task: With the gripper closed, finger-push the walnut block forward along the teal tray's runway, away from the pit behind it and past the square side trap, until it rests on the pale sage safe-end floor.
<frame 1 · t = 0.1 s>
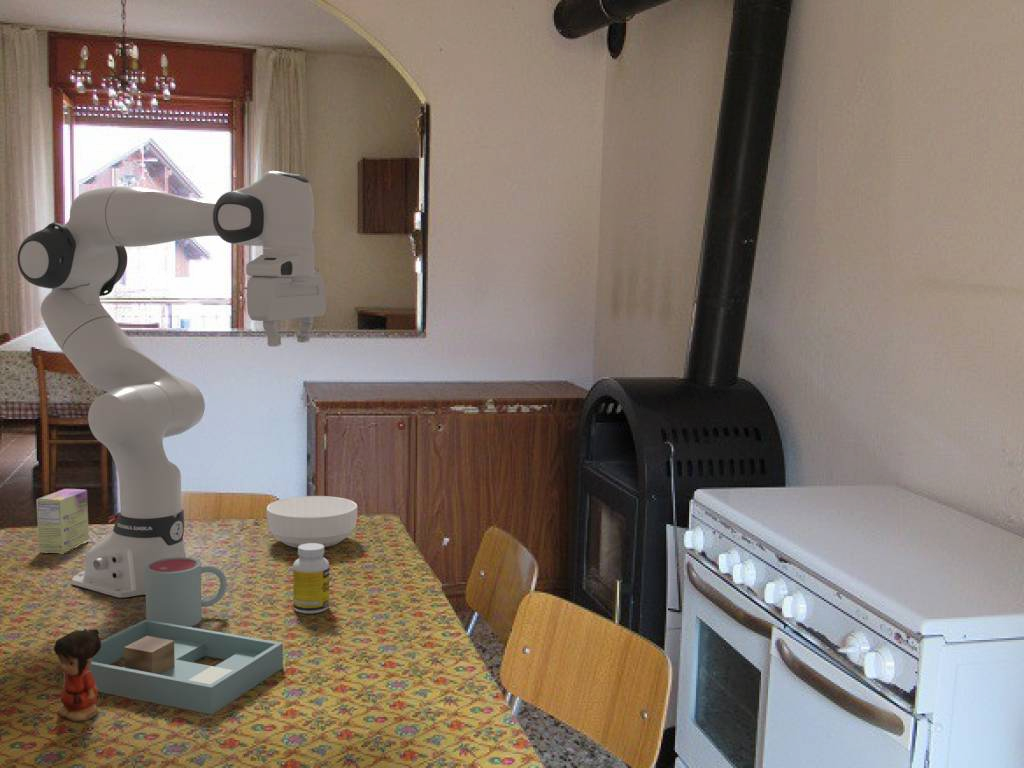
hand: (289, 344, 183), 48 cm above the table, fingers open, 8 cm apart
mug: (187, 619, 182), on the table
box: (64, 548, 222), on the table
block: (149, 669, 155), point 2 cm above the table, touching tray
figurine: (78, 714, 144), on the table
pill bottle: (311, 609, 188), on the table
bowl: (312, 544, 230), on the table
tray: (176, 675, 157), on the table
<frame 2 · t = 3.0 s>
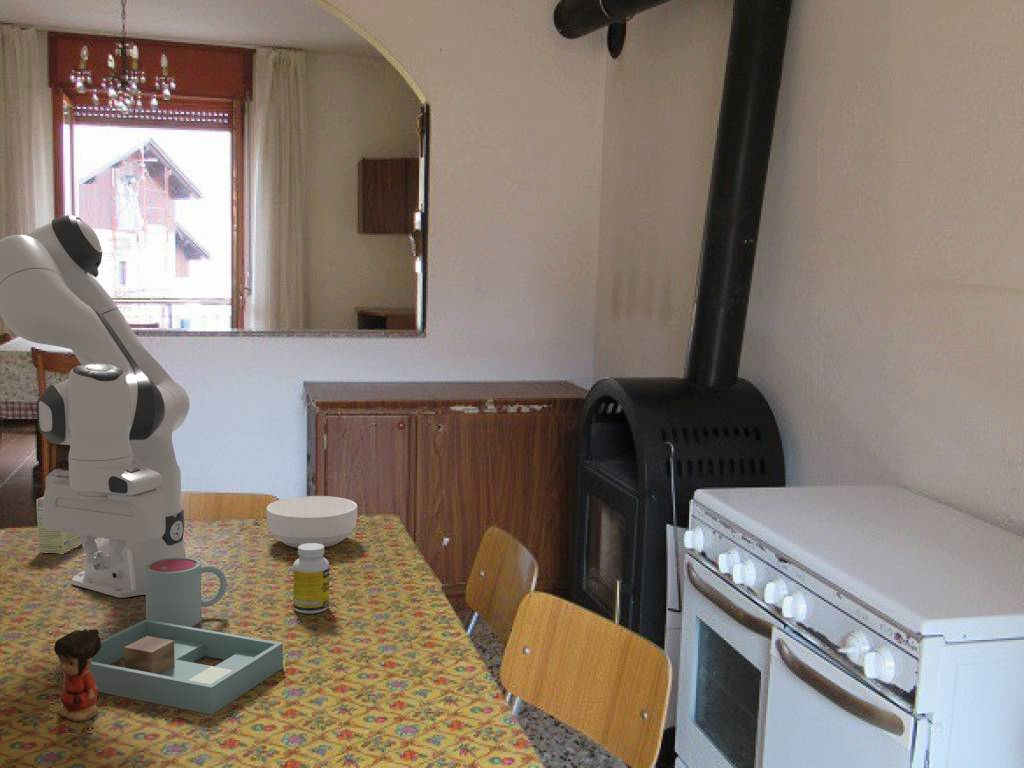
hand: (103, 564, 155), 17 cm above the table, fingers closed
nothing on the table moved.
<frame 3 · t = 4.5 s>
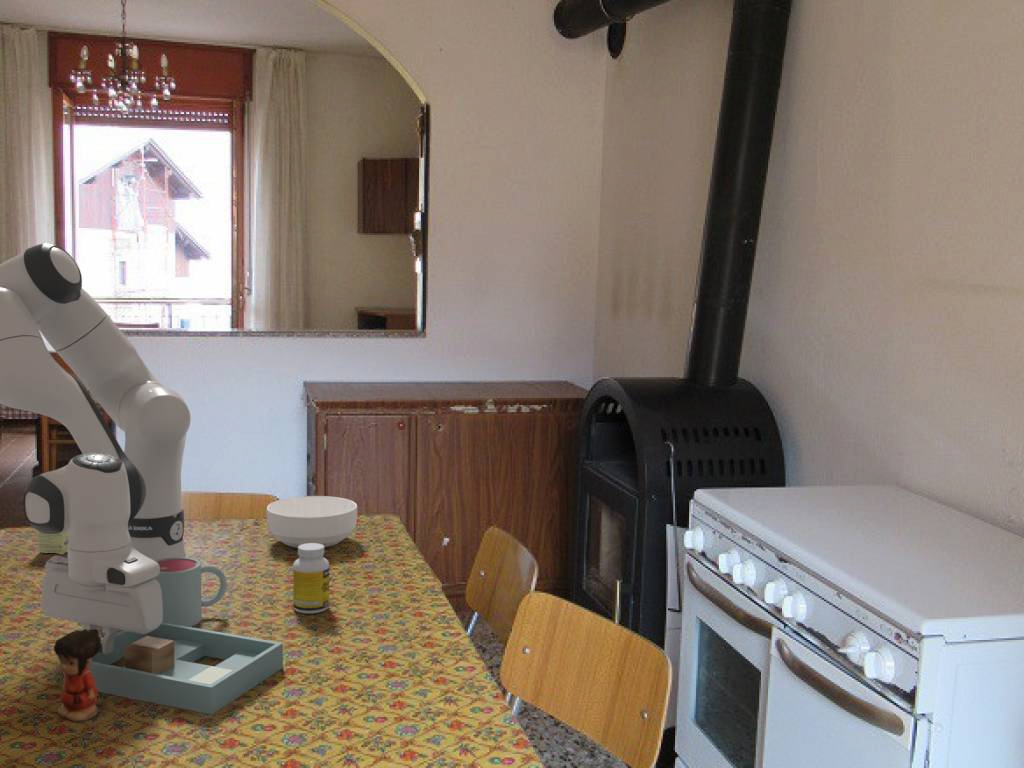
hand: (101, 651, 157), 4 cm above the table, fingers closed
nothing on the table moved.
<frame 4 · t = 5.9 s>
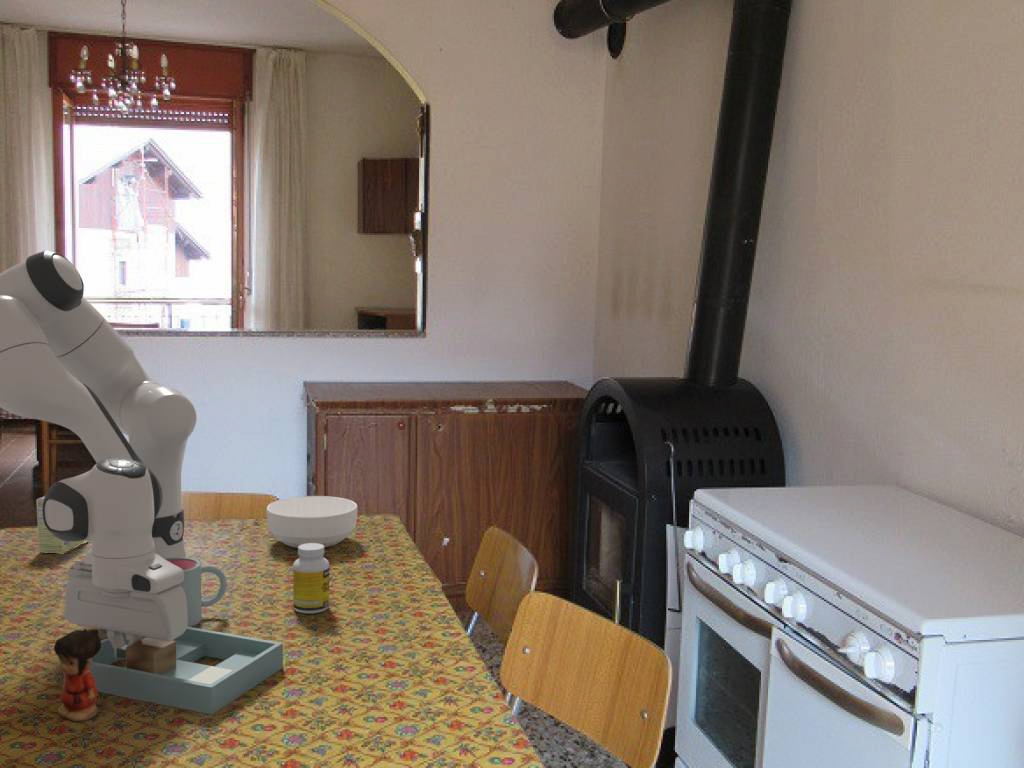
hand: (125, 658, 156), 3 cm above the table, fingers closed
block: (151, 670, 154), point 2 cm above the table, touching gripper, tray
everything else where it was.
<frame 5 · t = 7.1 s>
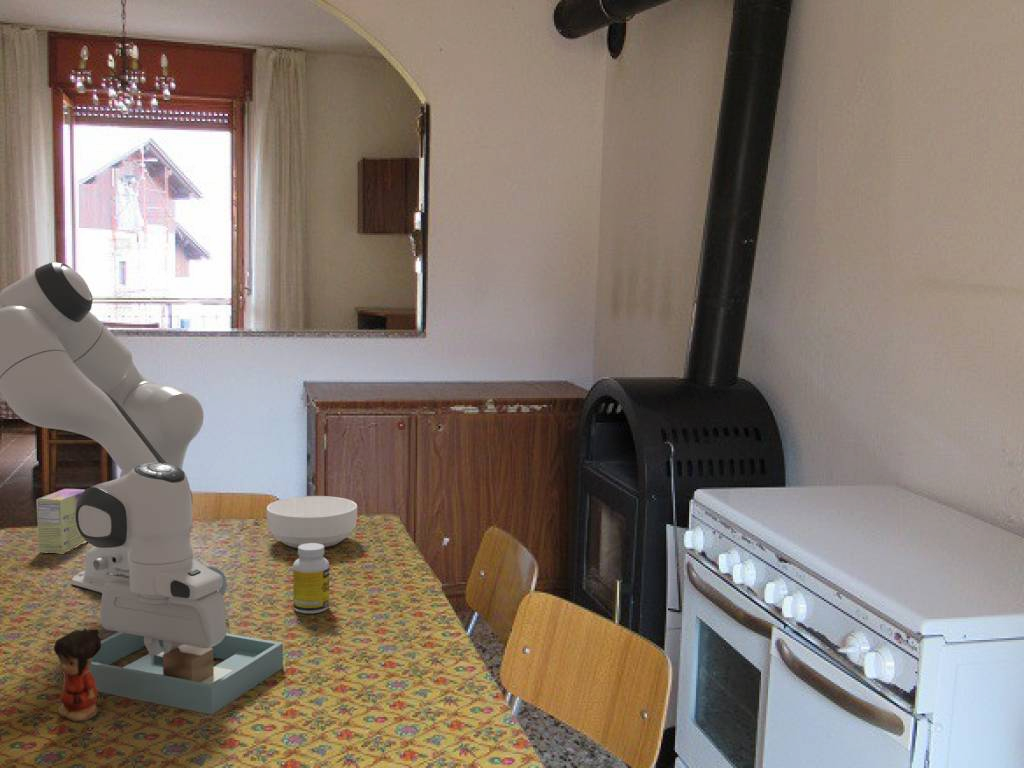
hand: (162, 665, 153), 3 cm above the table, fingers closed
block: (188, 678, 152), point 2 cm above the table, touching gripper, tray
everything else where it was.
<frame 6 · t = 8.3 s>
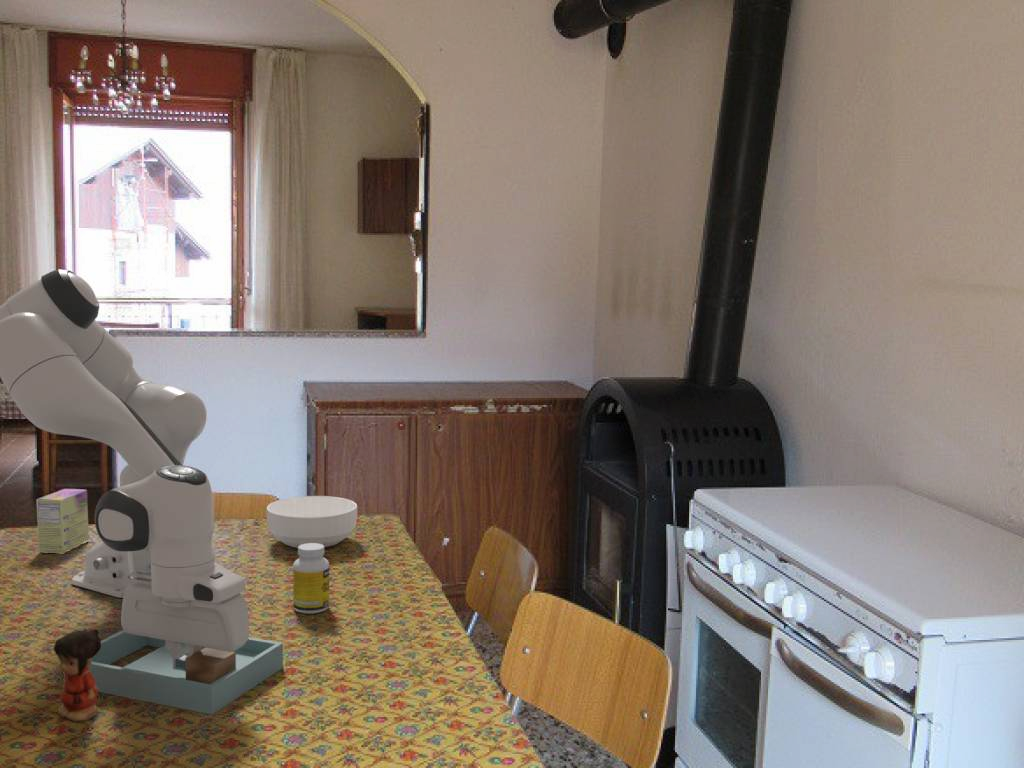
hand: (184, 669, 152), 3 cm above the table, fingers closed
block: (211, 681, 151), point 2 cm above the table, touching gripper, tray
everything else where it was.
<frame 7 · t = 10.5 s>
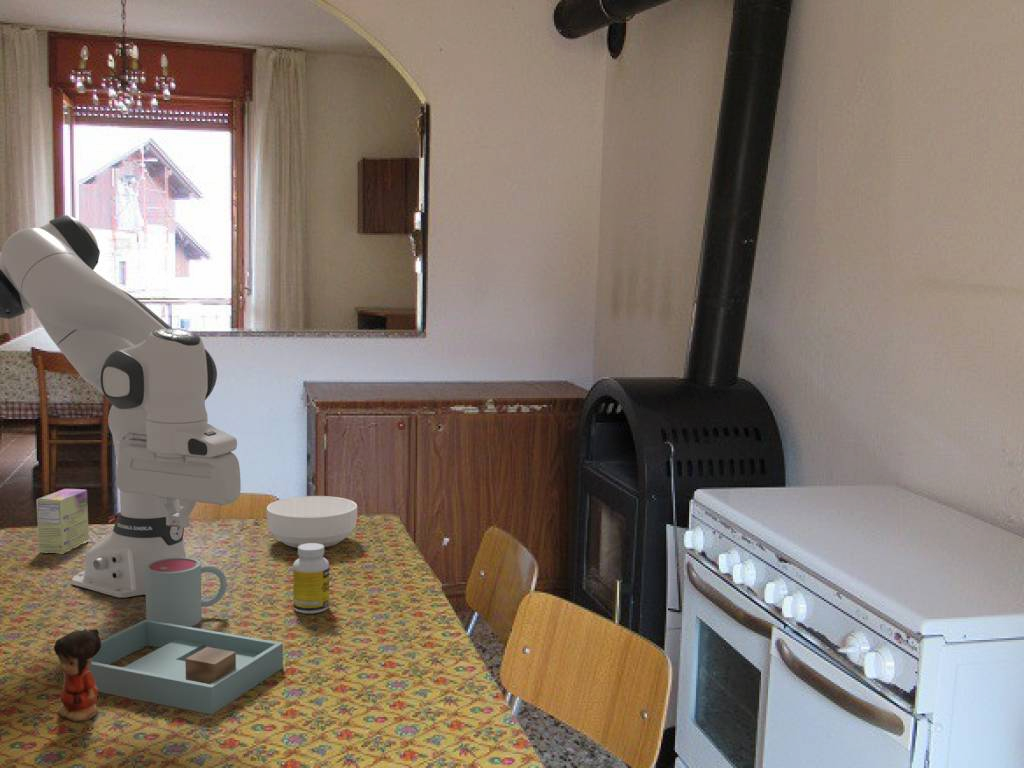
hand: (177, 526, 159), 22 cm above the table, fingers closed
block: (211, 681, 151), point 2 cm above the table, touching tray
everything else where it was.
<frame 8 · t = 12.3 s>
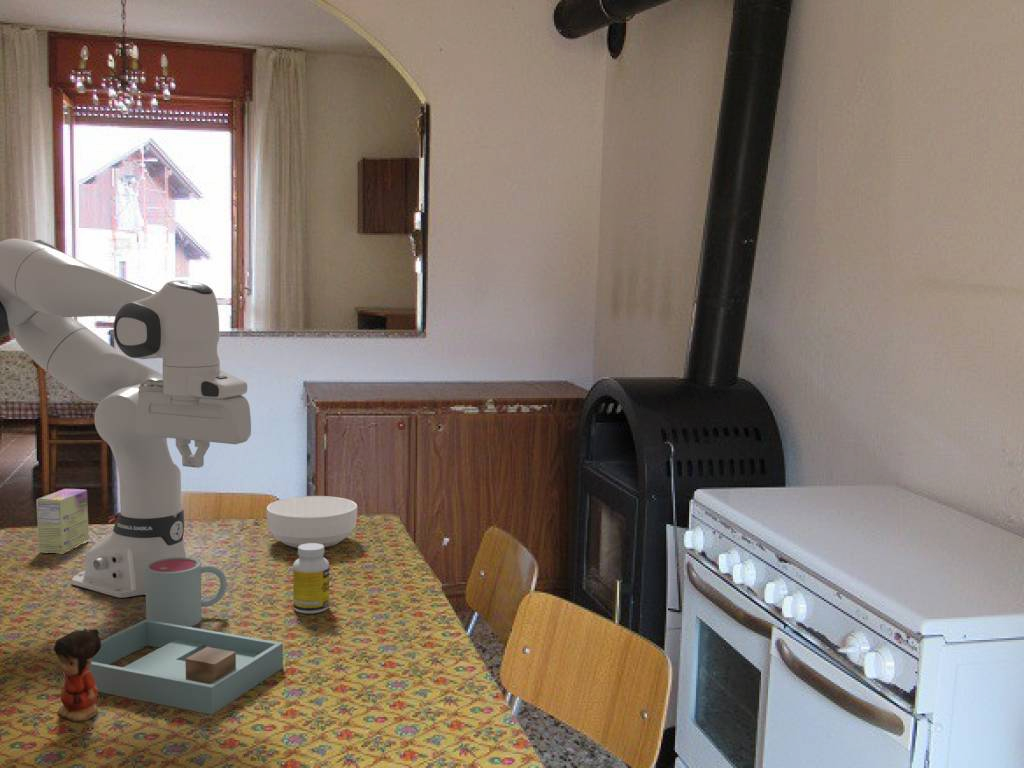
hand: (193, 466, 169), 29 cm above the table, fingers closed
nothing on the table moved.
at the end: block inside the target area on the tray (0.2 cm from its centre), point 2.0 cm above the tray's base; block tilted 0° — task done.
